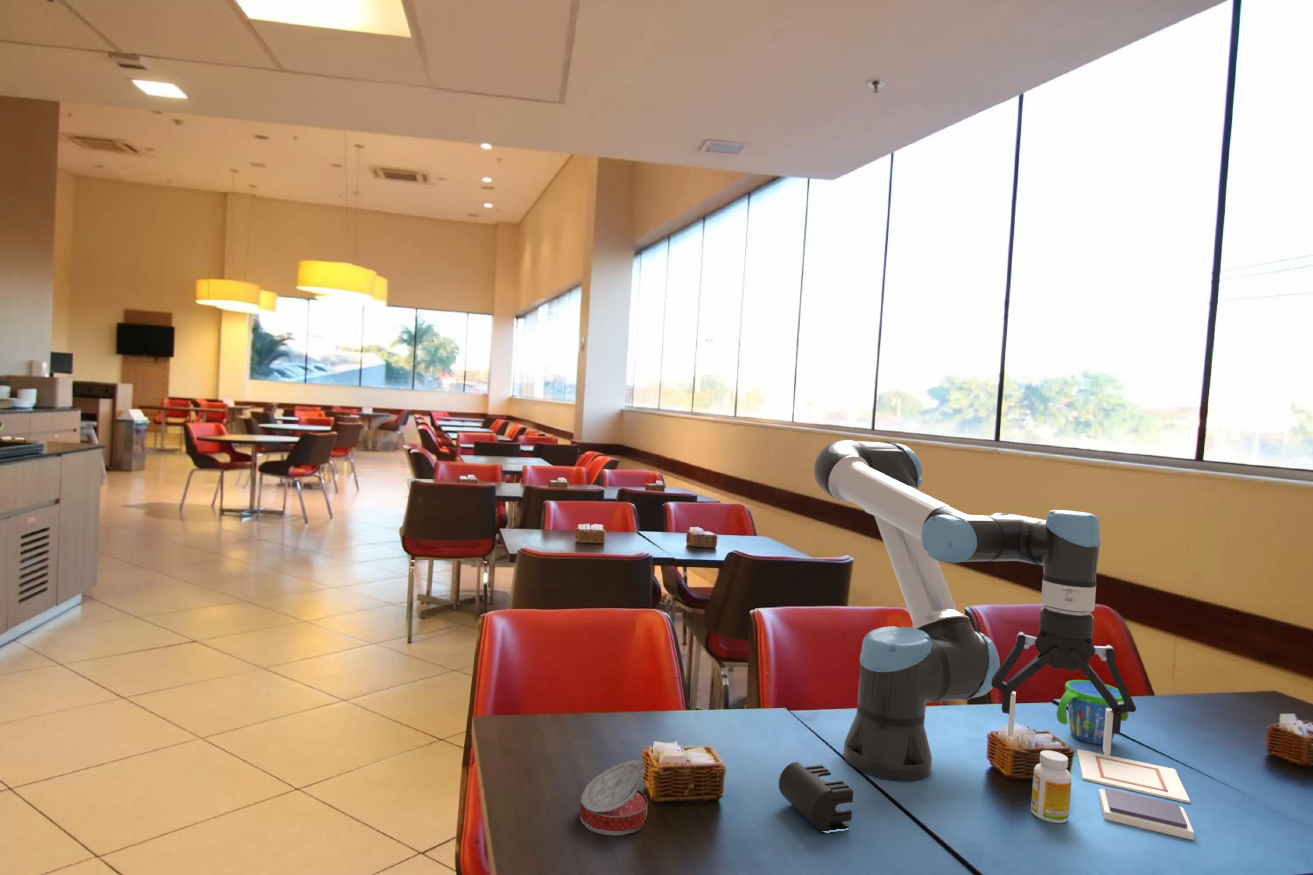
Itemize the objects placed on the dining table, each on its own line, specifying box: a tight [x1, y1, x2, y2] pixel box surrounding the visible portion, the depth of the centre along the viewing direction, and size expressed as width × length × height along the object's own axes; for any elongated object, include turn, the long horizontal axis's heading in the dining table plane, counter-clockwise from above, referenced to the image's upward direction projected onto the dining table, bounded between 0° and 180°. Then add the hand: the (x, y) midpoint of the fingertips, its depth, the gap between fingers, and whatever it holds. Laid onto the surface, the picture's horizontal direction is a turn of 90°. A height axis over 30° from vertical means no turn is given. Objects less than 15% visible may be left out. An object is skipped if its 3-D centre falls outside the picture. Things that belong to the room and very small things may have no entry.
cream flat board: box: [1076, 748, 1191, 804], centre depth 145 cm, size 16×14×1 cm
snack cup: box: [1056, 679, 1130, 745], centre depth 161 cm, size 16×10×10 cm
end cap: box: [778, 761, 854, 832], centre depth 122 cm, size 10×7×7 cm
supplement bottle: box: [1030, 749, 1072, 824], centre depth 127 cm, size 5×5×10 cm
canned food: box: [579, 759, 649, 831], centre depth 117 cm, size 11×10×10 cm
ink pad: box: [1098, 787, 1195, 841], centre depth 129 cm, size 12×9×2 cm
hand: (1057, 743), depth 127 cm, fingers open, 13 cm apart
